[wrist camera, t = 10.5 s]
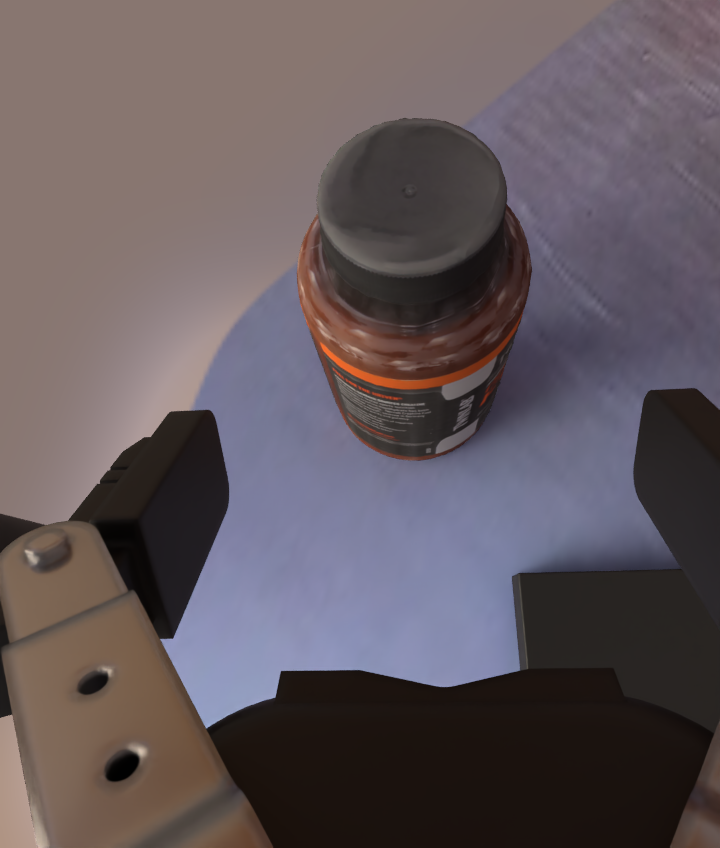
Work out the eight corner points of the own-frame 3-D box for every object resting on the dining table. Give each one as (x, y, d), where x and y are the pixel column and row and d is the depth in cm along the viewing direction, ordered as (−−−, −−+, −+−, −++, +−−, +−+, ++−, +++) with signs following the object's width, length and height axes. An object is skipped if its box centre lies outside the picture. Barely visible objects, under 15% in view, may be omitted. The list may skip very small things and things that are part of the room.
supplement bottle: (504, 457, 22) (583, 306, 11) (341, 471, 23) (270, 339, 12) (482, 310, 24) (534, 62, 13) (332, 326, 24) (264, 97, 14)
